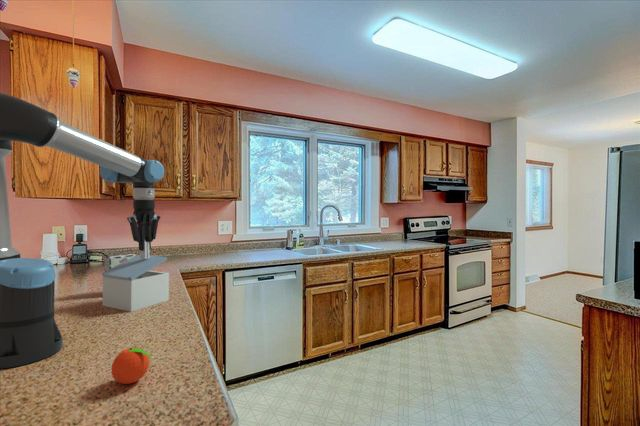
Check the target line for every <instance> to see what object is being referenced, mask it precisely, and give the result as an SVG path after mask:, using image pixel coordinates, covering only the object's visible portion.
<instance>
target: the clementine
mask: <svg viewBox="0 0 640 426" xmlns="http://www.w3.org/2000/svg"><path fill="white" fill-rule="evenodd" d="M150 361H151V362H153V361H152V356H151V355H150V354H149V353H148V352H147V351H146V350H144V349H142V348H139V347H129V348H126V349H124V350H122V351H121V352H120V353H118V354H117V356H116V357H115V358H114V360H113V362H112V363H111V375H112V377H113V379H114V380H115V381H116V382H118V383H120V384H123V385H130V384H134V383H136V382H138V381H139V380H140V379H142V378H143V377H144V376H145V375H146V373H147V371H148V369H149V366H150Z"/></svg>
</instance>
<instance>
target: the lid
mask: <svg viewBox="0 0 640 426" xmlns="http://www.w3.org/2000/svg"><path fill="white" fill-rule="evenodd" d="M167 261H168V257H167V256H161V255H160V256H159V255H158V256H157V255H150V258H147V259H141V258H140V253H138V254H137V255H136V256H135V257H133V258H131V259H129V260H127V261H125V262H123V263H121V264H119V265H117V266H115V267H113V268H111V269H109V270H107V271H105V270H104V272H102V273H101V274H102V278H103V277H110V278H117V279H124V280H133V279H135V278H136V277H138V276H140V275H142V274H143V273H145V272H147V271H151V270H152V269H153V268H155V267H157V266H159V265H161V264H162V263H164V262H167Z"/></svg>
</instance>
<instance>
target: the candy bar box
mask: <svg viewBox="0 0 640 426" xmlns="http://www.w3.org/2000/svg"><path fill="white" fill-rule="evenodd" d="M135 256H137V255H136V254H133V253H128V254H119V255H110V256H103V257H104V259H103V260H104V272H105V271H107V270H109V269H111V268H113V267H115V266H117V265H119V264H121V263H123V262H125V261H127V260H129V259H131V258H133V257H135Z"/></svg>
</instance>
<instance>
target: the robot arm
mask: <svg viewBox="0 0 640 426" xmlns="http://www.w3.org/2000/svg"><path fill="white" fill-rule="evenodd" d="M12 142H19V143H25V144H29V145H32V146H35V147H38V148H43V147H49V148H51V149H54V150H57V151H60V152H63V153H65V154H67V155H70V156H73V157H76V158H78V159H81V160H83V161H87V162H89V163H91V164H95V165H98V166H100V168H99V175H100V178H101V179H102V180H103V181H104V182H108V183H112V184H116V183H118V184H119V183H121V184H132V198H133V201H132V205H133V206H132V207H133V213H132V215H131V216H128V217H127V218H126V219H127V221H128V223H129V226H130V231H131V235H132V239H133V241H134V242H137V243H138V250H139V252H140V253H139V254H140V258H141V259H147V258H150V254H151V253H150V252H151V249H152V242H153V241H154V240H156V236H157V233H158V225H159V221H160V219H161V216H160V215H157V214H156V212H155V207H156V202H155V201H156V200H155V196H156V195H155V193H156V192H155V189H156V188H155V183H156V182H159V181H161V180H162V179H163V178H164V176H165V175H164V174H165V168H164V165H163V164H162V163H161V162H160V161H159V160H155V159H145V158H143V157H140V156H138V155H136V154H134V153H132V152H129V151H127V150H125V149H123V148H120V147H118V146H117V145H113V144H111V143H110V142H107V141H105V140H103V139H101V138H99V137H97V136H94V135H92V134H90V133H88V132H86V131H83V130H81V129H79V128H77V127H74V126H73V125H70V124H68V123H65V122H63V121H61V120H59V118H58V115H57V114H55V113H53V112H51V111H49V110H47V109H45V108H43V107H40V106H37V105H35V104H33V103H31V102H30V101H29V102H28V101H27V100H23V99H21V98H19V97H16V96H13V95H10V94H7V93H3V92H0V370H1V369H9V368H14V367H19V366H24V365H27V364H28V365H29V364H32V363H35V362H38V361H42V360H45V359H47V358H49V357H51V356H53V355H55V354H56V353H59V352H60V351H61V350H62V349H63V345H64V344H63V342H64V341H63V336H62V334H61V331H60V329H59V327H58V324H57V322H56V320H55V292H56V291H55V290H56V289H55V287H56V286H55V284H56V283H55V281H56V273H55V272H56V271H55V265H54V264H53V262H51V261H49V260H47V259H43V258H39V257H38V258H31V257H21V252H20V251H19V250H17V249H16V248H15V247H13V246H12V234H11V231H12V230H11V220H10V207H9V206H10V205H9V195H8V194H9V193H8V183H7V182H8V180H7V171H6V170H7V169H6V167H7V166H6V158H7V157H8V156H10V154H12V153H13V145H12V144H13V143H12Z"/></svg>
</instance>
